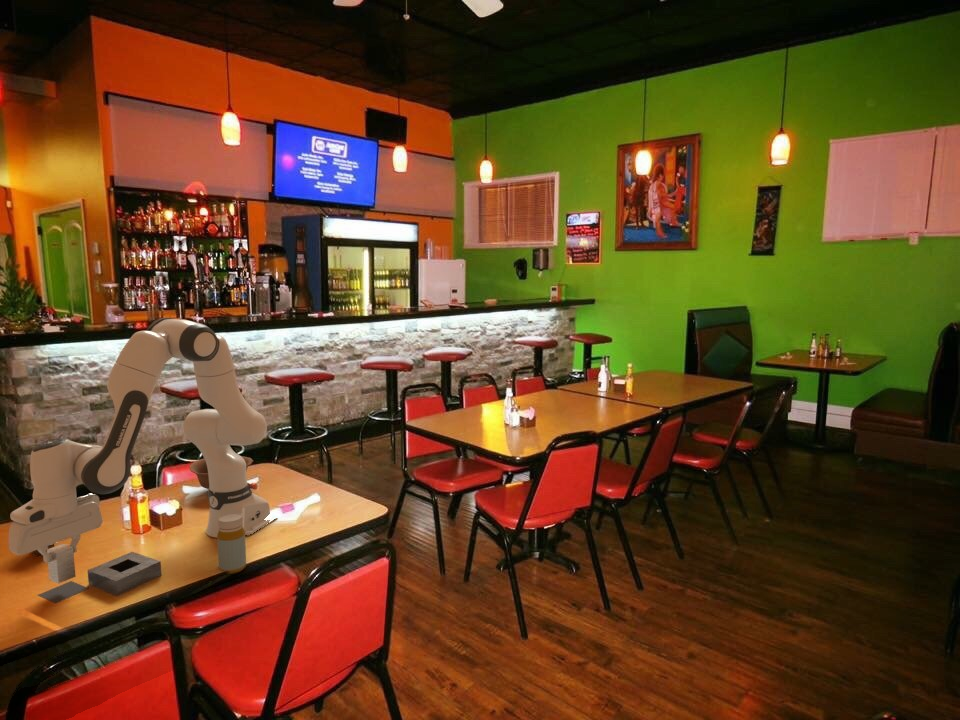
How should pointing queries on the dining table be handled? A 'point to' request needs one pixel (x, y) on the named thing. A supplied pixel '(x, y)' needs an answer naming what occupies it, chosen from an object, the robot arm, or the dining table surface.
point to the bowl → (202, 470)
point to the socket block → (124, 573)
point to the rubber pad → (63, 592)
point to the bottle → (231, 543)
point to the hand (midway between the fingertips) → (60, 557)
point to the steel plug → (61, 563)
